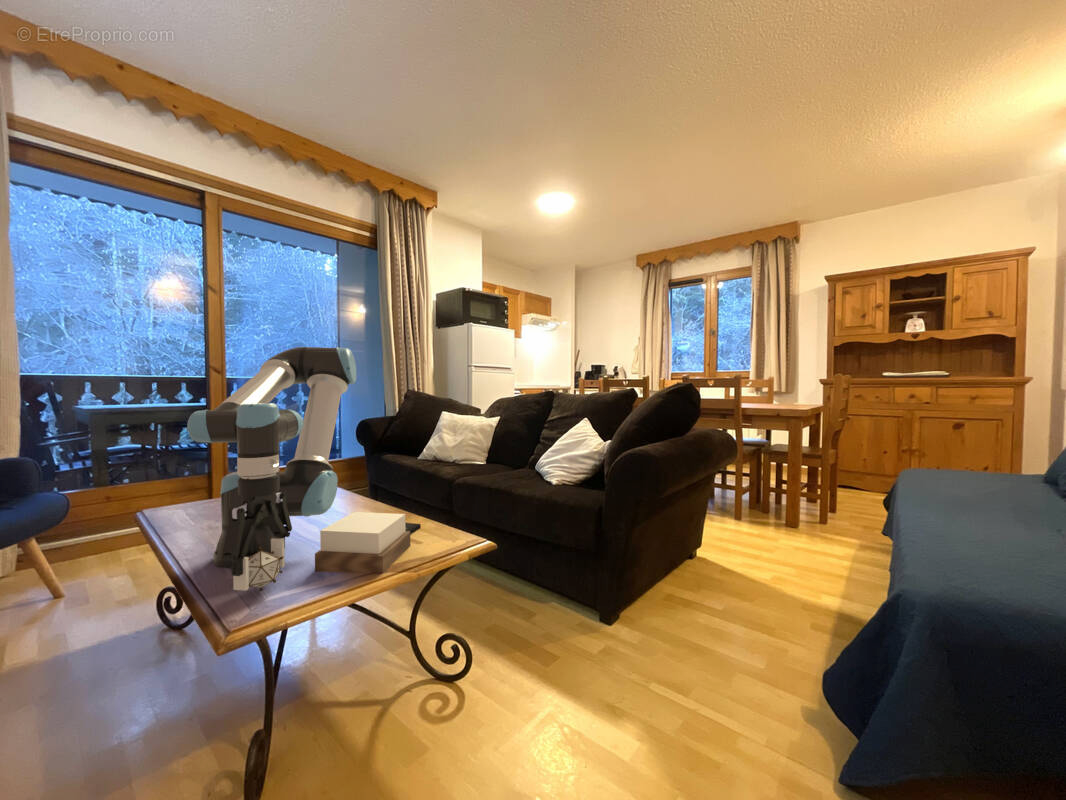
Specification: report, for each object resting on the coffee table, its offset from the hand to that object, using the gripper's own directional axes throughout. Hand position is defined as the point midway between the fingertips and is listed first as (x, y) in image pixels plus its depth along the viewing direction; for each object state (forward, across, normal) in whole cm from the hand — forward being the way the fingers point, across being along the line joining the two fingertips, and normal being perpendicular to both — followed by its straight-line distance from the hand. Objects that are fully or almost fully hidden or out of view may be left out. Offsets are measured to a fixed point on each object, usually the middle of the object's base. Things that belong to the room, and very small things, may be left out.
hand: (260, 577), depth 89 cm
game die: (+3, 0, 0) cm, 3 cm away
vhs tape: (+4, +36, -15) cm, 39 cm away
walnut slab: (+4, +19, -14) cm, 24 cm away
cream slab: (-1, +19, -14) cm, 24 cm away
